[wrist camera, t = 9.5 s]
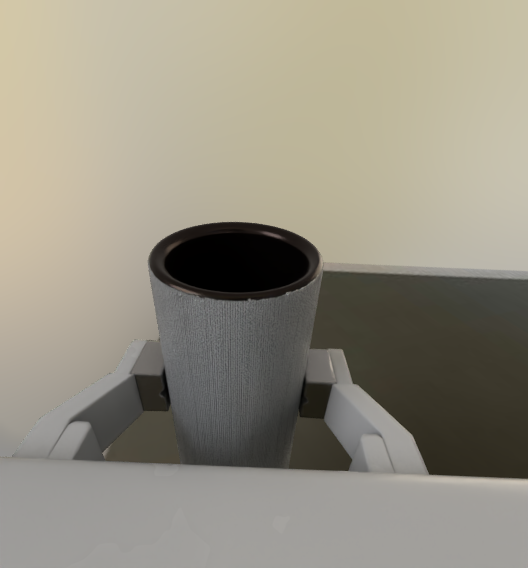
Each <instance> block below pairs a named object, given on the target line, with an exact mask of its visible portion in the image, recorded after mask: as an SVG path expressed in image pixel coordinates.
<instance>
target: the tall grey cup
mask: <svg viewBox="0 0 528 568" xmlns="http://www.w3.org/2000/svg"><path fill="white" fill-rule="evenodd" d="M148 268H149V275H150V281H151V287H152V293H153V299H154V305H155V311H156V317H157V324H158V330H159V336H160V342H161V348H162V354H163V360H164V366H165V372H166V378H167V384H168V390H169V396H170V402H171V408H172V414H173V420H174V426H175V432H176V438H177V444H178V450H179V456H180V462H181V464H184V465H208V466H231V467H255V468H279V469H288V467H289V462H290V456H291V450H292V445H293V439H294V433H295V427H296V422H297V416H298V410H299V405H300V399H301V393H302V387H303V382H304V376H305V370H306V365H307V359H308V353H309V347H310V342H311V336H312V330H313V325H314V319H315V313H316V307H317V302H318V296H319V290H320V284H321V279H322V272H323V259H322V256H321V254H320V252H319V251H318V250H317V248H316V247H315V246H314V245H313V244H311V243H310V242H309V241H308V240H306V239H305V238H303V237H301V236H299V235H297V234H295V233H293V232H290V231H287V230H284V229H281V228H278V227H273V226H269V225H263V224H257V223H246V222H245V223H244V222H220V223H210V224H204V225H198V226H194V227H190V228H186V229H183V230H180V231H178V232H175V233H173V234H171V235H169V236H167V237H166V238H164V239H163V240H161V241H160V242H159V243H158V244H157V245H156V246H155V247H154V248H153V249H152V251H151V253H150V255H149V259H148Z"/></svg>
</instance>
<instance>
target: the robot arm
mask: <svg viewBox="0 0 528 568" xmlns="http://www.w3.org/2000/svg"><path fill="white" fill-rule="evenodd" d="M170 404H171V402H170V396H169V390H168V384H167V378H166V372H165V366H164V360H163V354H162V348H161V342H160V341H154V340H136V339H135V340H134V341H132V342H131V344H130V346H129V347H128V349H127V351H126V353H125V354H124V356H123V358H122V360H121V361H120V363H119V365H118V366H117V368H116V370H115V372H114V373H109V374H107V375H106V376H104V377H103V378H101V379H100V380H98V381H96V382H95V383H93V384H92V385H90V386H89V387H87V388H86V389H84V390H82V391H81V392H79V393H78V394H76V395H75V396H73V397H72V398H70V399H69V400H67V401H66V402H64V403H62V404H61V405H59V406H58V407H56V408H55V409H53V410H52V411H50V412H49V413H47V414H45V415H44V416H42V417H41V418H40V419H39V420H38V421H37V423H36V424H35V425H34V427H33V428H32V429H31V431H30V432H29V434H28V435H27V437H26V438H25V439H24V440H23V442H22V443H21V445H20V446H19V447H18V449H17V450H16V451H15V453H14V454H13V455H12V457H0V568H528V479H516V478H493V477H469V476H446V475H429V473H428V471H427V468H426V466H425V464H424V461H423V459H422V457H421V454H420V452H419V450H418V447H417V445H416V443H415V440H414V438H413V436H412V434H410V433H409V432H408V431H407V430H406V429H405V428H404V427H403V426H402V425H401V424H400V423H398V422H397V421H396V420H395V419H394V418H393V417H392V416H391V415H390V414H389V413H388V412H387V411H385V410H384V409H383V408H382V407H381V406H380V405H379V404H378V403H377V402H376V401H375V400H373V399H372V398H371V397H370V396H369V395H368V394H367V393H366V392H365V391H364V390H363V389H361V388H360V387H359V386H358V385H355V384H353V382H352V379H351V376H350V372H349V369H348V366H347V363H346V359H345V356H344V353H343V351H342V350H341V349H316V348H309V353H308V359H307V365H306V370H305V376H304V382H303V387H302V393H301V399H300V405H299V413H300V417H305V418H319V419H324V421H325V422H326V424H327V425H328V427H329V428H330V429H331V431H332V432H333V433H334V435H335V436H336V438H337V439H338V440H339V442H340V443H341V444H342V446H343V447H344V449H345V450H346V451H347V453H348V454H349V455H350V457H351V458H352V462H351V465H350V468H349V470H348V471H328V470H304V469H279V468H255V467H231V466H208V465H184V464H161V463H138V462H114V461H105V459H104V456H103V454H102V452H103V451H104V450H105V449H106V448H108V447H109V446H110V445H111V444H112V443H113V442H114V441H115V440H116V439H117V438H118V437H119V436H120V435H121V434H122V433H123V432H124V431H125V430H126V429H127V428H128V427H129V426H130V425H131V424H132V423H133V422H134V421H135V420H136V419H137V418H138V417H139V416H140V415H141V414H142V413H143V411H168V410H169V407H170Z"/></svg>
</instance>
